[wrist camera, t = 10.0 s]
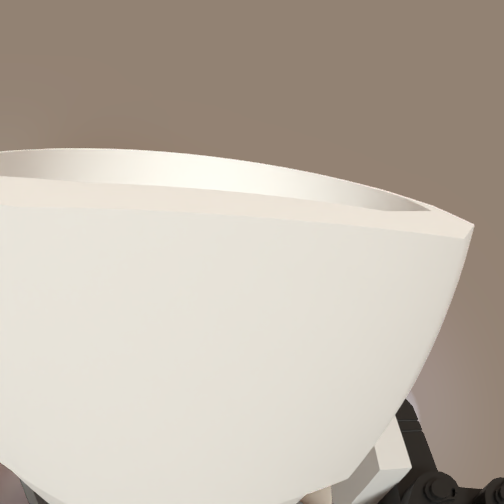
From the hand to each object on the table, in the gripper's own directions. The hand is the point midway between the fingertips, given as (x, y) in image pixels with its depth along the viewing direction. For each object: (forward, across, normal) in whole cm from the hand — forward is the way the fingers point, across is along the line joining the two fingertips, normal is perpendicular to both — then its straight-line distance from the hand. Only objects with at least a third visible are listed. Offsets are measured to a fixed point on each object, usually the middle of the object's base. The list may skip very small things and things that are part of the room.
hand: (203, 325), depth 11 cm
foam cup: (-4, 0, -7) cm, 8 cm away
